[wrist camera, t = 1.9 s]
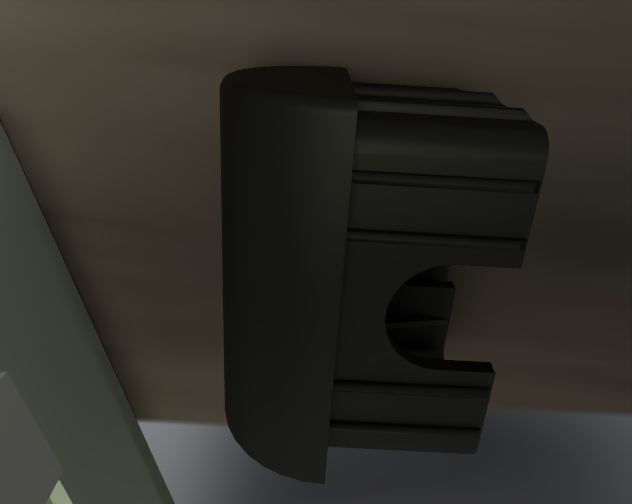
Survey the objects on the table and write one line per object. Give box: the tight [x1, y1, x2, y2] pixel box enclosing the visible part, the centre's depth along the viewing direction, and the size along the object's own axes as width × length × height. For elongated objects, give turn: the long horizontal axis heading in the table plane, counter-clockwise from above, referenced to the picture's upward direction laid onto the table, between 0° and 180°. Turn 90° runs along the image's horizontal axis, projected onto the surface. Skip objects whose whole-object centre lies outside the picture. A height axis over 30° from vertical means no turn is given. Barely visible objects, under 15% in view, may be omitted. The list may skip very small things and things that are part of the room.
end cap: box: [220, 66, 549, 484], centre depth 15 cm, size 10×7×7 cm
